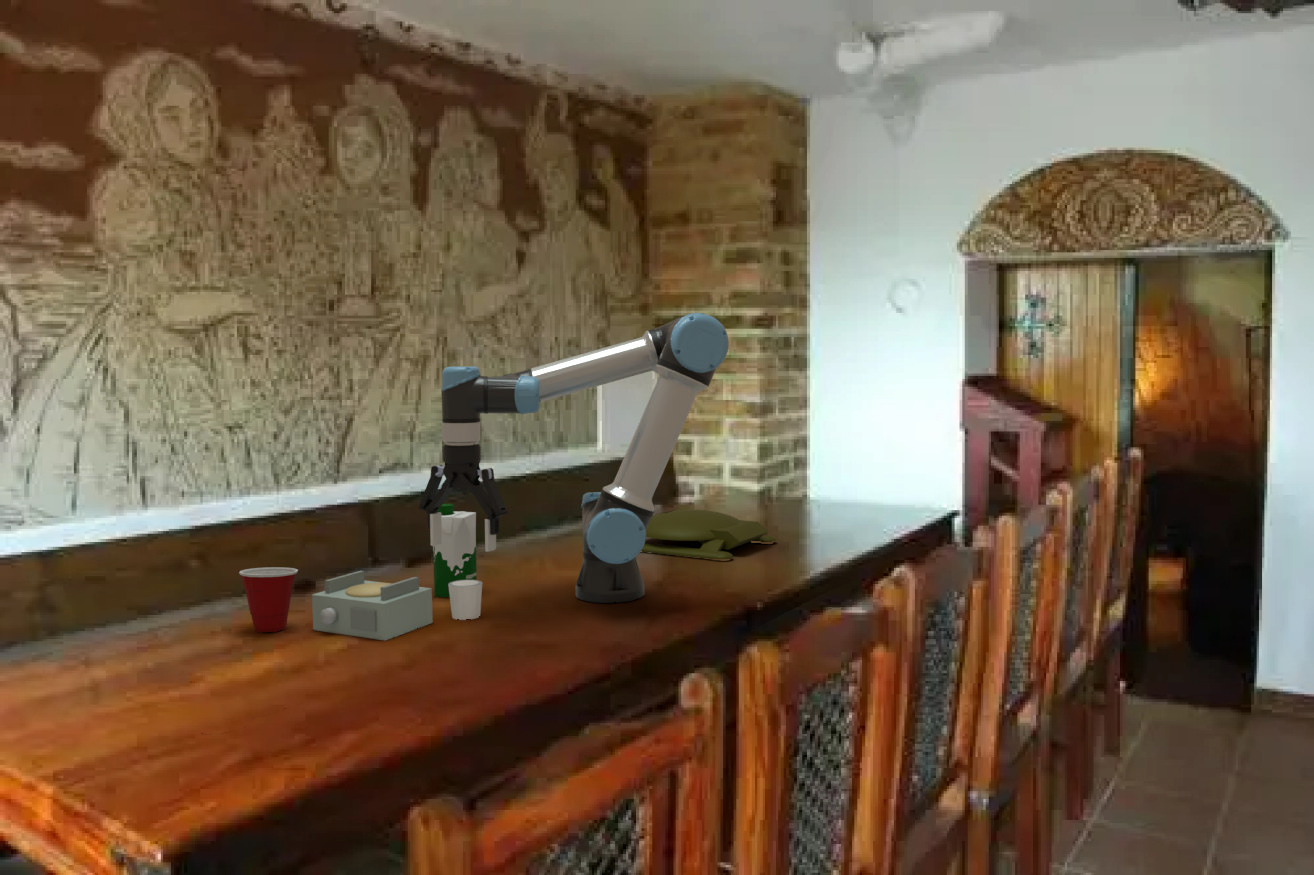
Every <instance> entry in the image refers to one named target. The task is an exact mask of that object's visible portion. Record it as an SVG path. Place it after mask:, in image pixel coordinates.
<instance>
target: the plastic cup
mask: <svg viewBox="0 0 1314 875" xmlns="http://www.w3.org/2000/svg"><path fill="white" fill-rule="evenodd" d="M298 571H299V569H297V568H294V567H284V566H283V567H280V566H279V567H278V566H277V567H273V566H271V567H267V566H266V567H256V568H255V567H253V568H247V569H241V570H240V571H239V572H238V573H239V575H240V576H241V579H242V583H243V587H244V590H245V596H246V599H247V604H248V610H249V612H250V615H251V616H250V617H251V620H252V625H253V628H254V631H255V632H256V631H257V632H256V633H259V632H273V633H278V632H277V631H279V632H281V631H280V630H282V631H284V630H286V628H287V625H288V624H287V623H288V616H289V611H290V605H291V598H292V592H293V586H294V580H295V577H296V575H297V573H298ZM283 629H284V630H283Z"/></svg>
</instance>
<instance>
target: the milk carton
mask: <svg viewBox="0 0 1314 875" xmlns="http://www.w3.org/2000/svg"><path fill="white" fill-rule="evenodd" d="M454 508H455V507H454V504H453V503H449V502H448V503H443V504H442V505H441V507H440V508H439V510H440V511H438V512H440V513H441V525H442V544H439V545H435V546H432V552H433V553H432V556H433V557H432V558H433V560H432V561H433V591H434V592H433V594H434V596H433V597H435V598H450V594H449V586H448V584H449V583H450V582H453V581H458V580H477V574H478V573H477V571H478V570H477V539H476V538H477V537H476V536H477V535H476V534H477V530H476V529H477V528H476V526H477V512H476V511H475V512H474V511H473V512H472V511H466V510H465V511H464V510H463V511H455V510H454ZM438 512H436V513H438Z"/></svg>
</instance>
